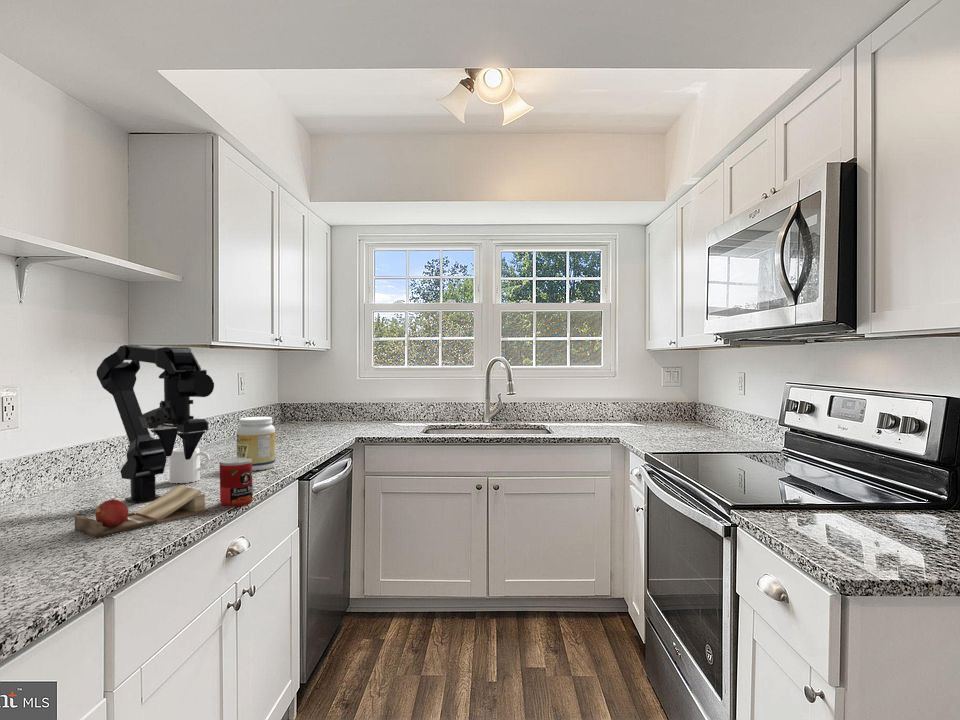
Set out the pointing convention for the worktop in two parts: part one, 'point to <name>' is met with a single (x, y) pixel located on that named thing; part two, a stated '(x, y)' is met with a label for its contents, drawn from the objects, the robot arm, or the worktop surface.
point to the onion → (112, 513)
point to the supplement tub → (257, 442)
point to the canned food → (236, 482)
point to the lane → (126, 523)
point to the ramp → (174, 502)
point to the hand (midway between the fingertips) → (178, 457)
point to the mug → (186, 466)
